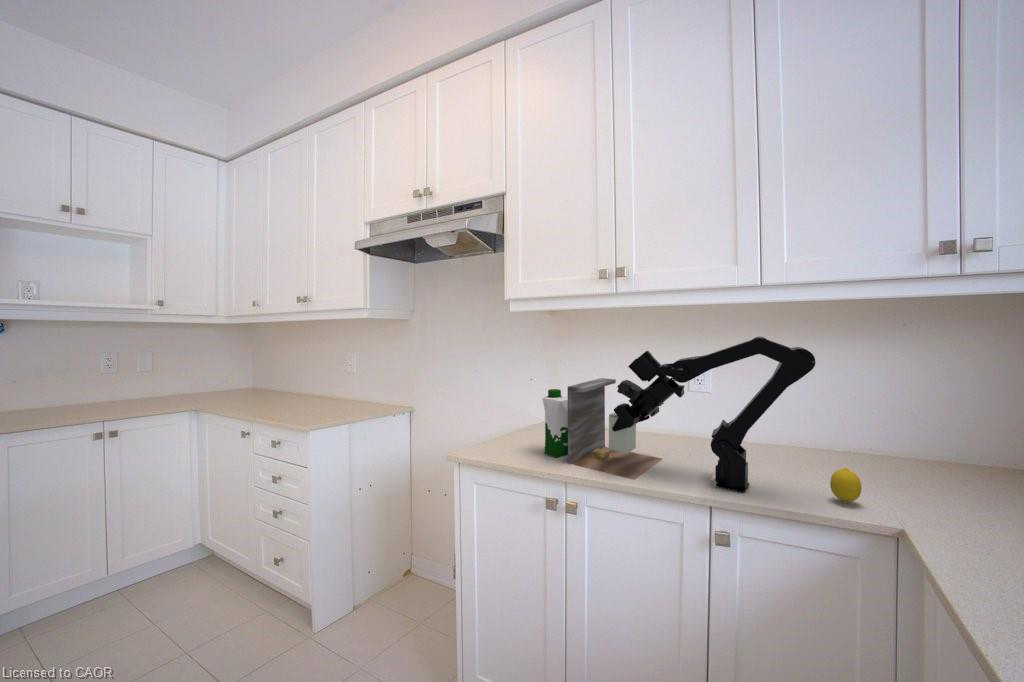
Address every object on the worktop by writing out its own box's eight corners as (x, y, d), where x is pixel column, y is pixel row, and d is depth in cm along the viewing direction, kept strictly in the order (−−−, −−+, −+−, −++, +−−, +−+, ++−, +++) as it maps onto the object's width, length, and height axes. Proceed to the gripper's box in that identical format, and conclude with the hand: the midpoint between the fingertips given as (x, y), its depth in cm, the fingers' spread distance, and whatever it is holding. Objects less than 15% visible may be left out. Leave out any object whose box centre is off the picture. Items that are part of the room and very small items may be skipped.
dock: (663, 462, 124) (663, 383, 123) (634, 483, 109) (634, 393, 108) (601, 449, 137) (601, 378, 136) (568, 466, 122) (567, 386, 120)
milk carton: (558, 447, 139) (558, 387, 138) (580, 454, 132) (580, 390, 131) (540, 454, 133) (539, 391, 132) (561, 461, 127) (561, 394, 125)
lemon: (824, 500, 97) (825, 466, 97) (838, 495, 99) (839, 462, 99) (851, 510, 92) (852, 474, 92) (866, 505, 94) (867, 470, 94)
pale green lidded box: (635, 448, 122) (635, 413, 121) (627, 453, 117) (627, 417, 117) (617, 444, 125) (617, 411, 125) (608, 449, 121) (608, 414, 120)
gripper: (649, 368, 125) (614, 400, 132) (620, 375, 110) (583, 411, 118) (675, 397, 120) (638, 429, 128) (650, 409, 106) (609, 444, 113)
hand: (617, 428), depth 122 cm, fingers closed on pale green lidded box, 6 cm apart
